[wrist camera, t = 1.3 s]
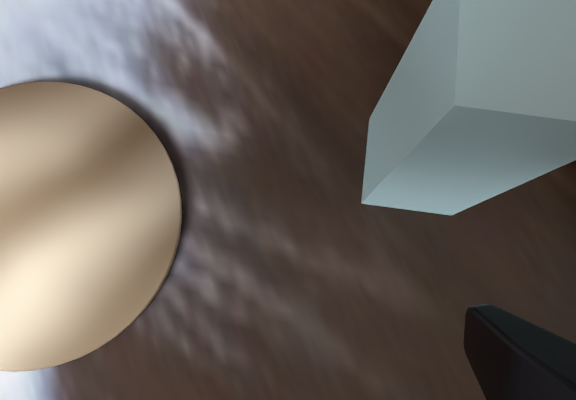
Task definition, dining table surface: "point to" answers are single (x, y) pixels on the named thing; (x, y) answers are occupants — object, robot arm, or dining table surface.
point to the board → (78, 221)
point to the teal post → (475, 105)
